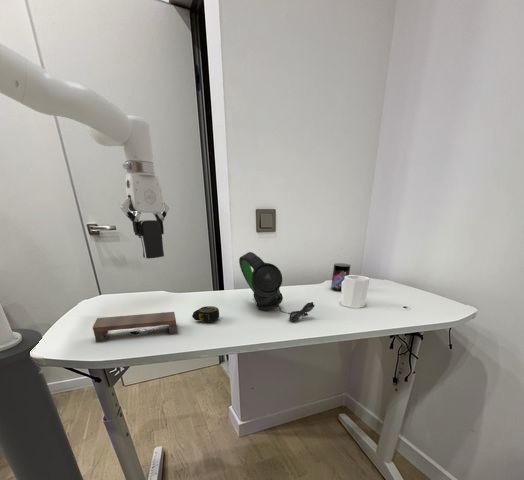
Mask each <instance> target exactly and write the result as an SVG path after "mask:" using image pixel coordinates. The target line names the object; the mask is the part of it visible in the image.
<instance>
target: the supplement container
mask: <svg viewBox="0 0 524 480" xmlns="http://www.w3.org/2000/svg"><path fill="white" fill-rule="evenodd" d="M351 267H352V266H351V264H348V263H342V262H341V263H340V262H337V263H336V262H335V263H333V271H332V277H331V284H330V289H331V290H332V291H335V292H342V281H343V280H344V278H345V276H348V275H350V271H351Z"/></svg>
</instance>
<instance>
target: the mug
mask: <svg viewBox="0 0 524 480" xmlns="http://www.w3.org/2000/svg"><path fill="white" fill-rule="evenodd" d="M369 284H370V278H369V277H368V276H364V275H361V274H349V275H348V276H345V278H344V280H343V281H342V291H341V297H340V304H341V306H343V307H346V308H351V309H361V308H364V307H365V306H366V300H367V295H368V291H369Z"/></svg>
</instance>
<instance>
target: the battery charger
mask: <svg viewBox="0 0 524 480" xmlns="http://www.w3.org/2000/svg"><path fill="white" fill-rule="evenodd" d="M139 222H141V227H142V234H143V235H142V236H138V238H139V239H140V240H141V246H142V257H143V258H144V259H149V260H150V259H158V258H162V257H165V254H164V253H165V252H164V244H163V242H164V241H163V234H162V231H161V225H160V223H159V222H158V221H157V220H156V219H142V220H139Z"/></svg>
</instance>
